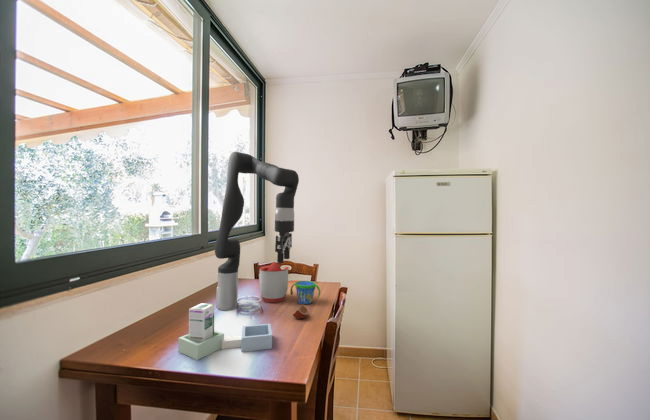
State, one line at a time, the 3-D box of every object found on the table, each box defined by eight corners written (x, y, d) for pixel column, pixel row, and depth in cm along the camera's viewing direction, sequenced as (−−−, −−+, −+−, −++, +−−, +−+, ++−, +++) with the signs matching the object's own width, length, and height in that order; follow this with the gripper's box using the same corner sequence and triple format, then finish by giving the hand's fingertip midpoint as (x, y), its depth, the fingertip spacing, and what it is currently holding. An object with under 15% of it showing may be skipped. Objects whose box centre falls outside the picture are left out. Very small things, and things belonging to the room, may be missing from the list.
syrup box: (203, 354, 87) (204, 309, 88) (187, 352, 88) (188, 307, 89) (214, 346, 93) (215, 303, 93) (199, 344, 94) (200, 302, 94)
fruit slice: (296, 313, 124) (296, 302, 124) (310, 315, 123) (310, 304, 123) (290, 320, 116) (290, 309, 116) (305, 322, 115) (305, 310, 115)
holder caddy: (172, 363, 82) (172, 348, 82) (183, 341, 96) (183, 328, 96) (272, 351, 90) (272, 337, 90) (269, 333, 103) (270, 321, 104)
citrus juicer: (296, 297, 148) (296, 261, 149) (274, 306, 134) (274, 266, 134) (275, 292, 157) (275, 258, 157) (252, 300, 142) (252, 262, 142)
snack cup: (322, 301, 143) (322, 281, 143) (315, 307, 133) (316, 286, 133) (295, 298, 147) (295, 279, 148) (286, 304, 137) (287, 284, 138)
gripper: (280, 219, 113) (279, 257, 113) (269, 219, 99) (268, 263, 99) (298, 219, 112) (297, 258, 112) (289, 220, 98) (287, 264, 98)
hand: (283, 260), depth 106 cm, fingers open, 8 cm apart
